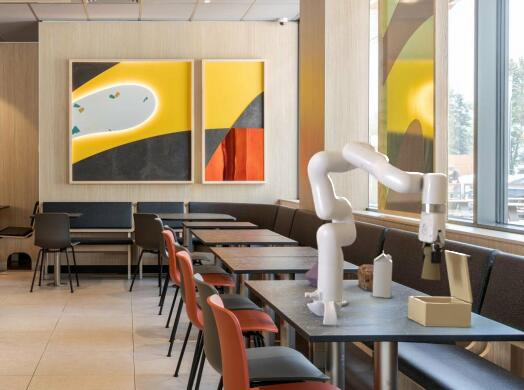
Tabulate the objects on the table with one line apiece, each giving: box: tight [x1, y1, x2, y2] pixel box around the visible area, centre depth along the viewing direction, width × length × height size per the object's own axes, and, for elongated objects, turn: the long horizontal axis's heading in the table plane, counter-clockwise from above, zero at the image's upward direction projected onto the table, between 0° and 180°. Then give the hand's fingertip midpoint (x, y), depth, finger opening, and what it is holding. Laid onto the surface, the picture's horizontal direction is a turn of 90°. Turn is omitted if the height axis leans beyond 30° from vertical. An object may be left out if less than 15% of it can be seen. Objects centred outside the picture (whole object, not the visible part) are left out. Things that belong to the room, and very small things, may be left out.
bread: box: [357, 263, 374, 292], centre depth 283 cm, size 19×11×10 cm, turn 170°
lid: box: [444, 249, 474, 304], centre depth 217 cm, size 16×13×5 cm
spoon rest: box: [306, 301, 342, 326], centre depth 219 cm, size 24×12×7 cm, turn 171°
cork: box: [420, 246, 441, 281], centre depth 215 cm, size 6×6×11 cm
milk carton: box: [372, 250, 393, 299], centre depth 264 cm, size 7×7×19 cm
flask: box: [304, 257, 318, 288], centre depth 286 cm, size 16×16×20 cm
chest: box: [407, 295, 473, 328], centre depth 217 cm, size 16×13×8 cm
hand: (431, 261), depth 215 cm, fingers closed on cork, 5 cm apart
